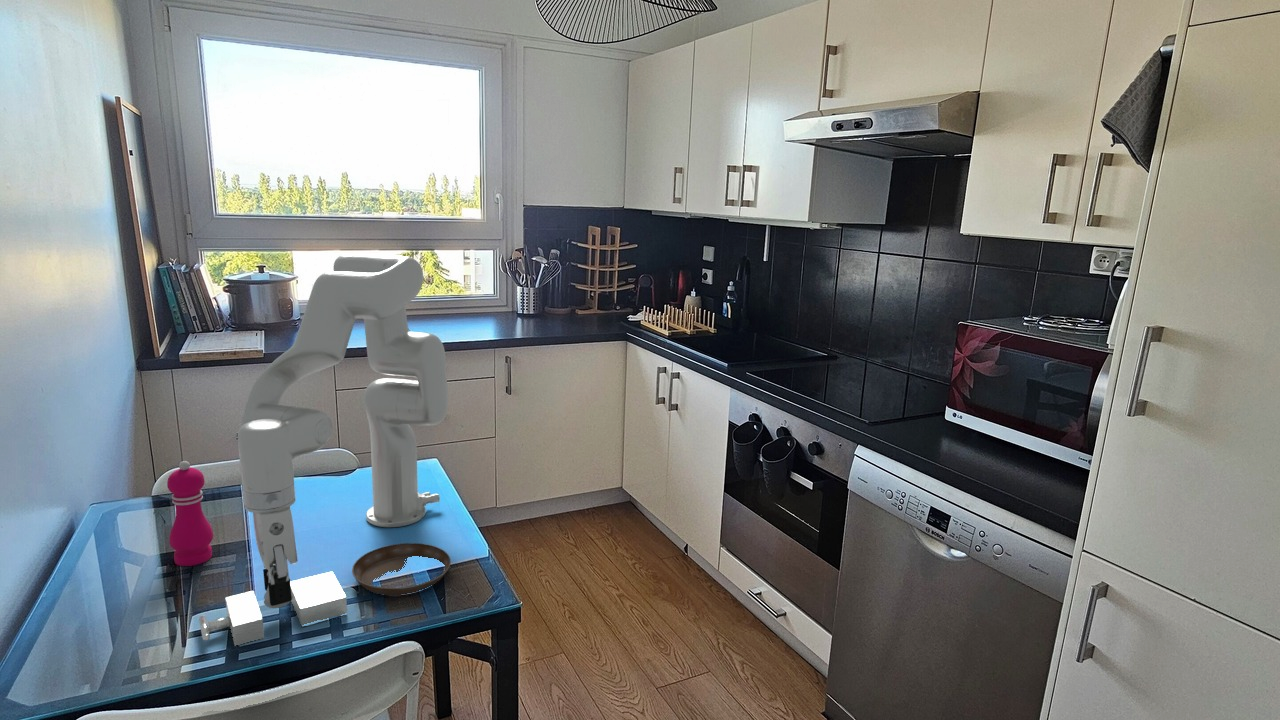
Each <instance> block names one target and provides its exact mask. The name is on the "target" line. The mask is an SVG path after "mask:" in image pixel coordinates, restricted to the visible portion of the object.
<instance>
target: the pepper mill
mask: <svg viewBox="0 0 1280 720" xmlns="http://www.w3.org/2000/svg"><path fill="white" fill-rule="evenodd" d="M190 466H191V464H190V462H189V461H187V460H183V461H181V462H179V463H178V467H179V468H178V469H177V470H174V471H173V472H171V474H170V475H169V476H168V478H167V484H166V485H167V489H168V491H169V492H170V493H172V495H171V499H172V501H171V502H172V504H173V505H174V506H175V519H174V523H173V525H172V527H171V530H170V533H169V546H170V547H171V548H172V549H173V550H174V553H173V559H174V563H175V565H177V566H180V567H191V566H196V565H200V564H203V563H206V562H207V561H209V560H210V559H211V558H212V556H213V550H212V549H213V548H212V546H211V543H212V541H213V540H214V532H213V531H214V530H213V527H212V526H211V524H210V522H209V520H208V519H207V518H206V517H205V514H204V512H203V509H202V500H203V498H204V496H203V494H204V493H203V491H202V488H203V487H204V485H205V476H204V474H203V473H202V471H201V470H200V469H198V468H195V467H190Z"/></svg>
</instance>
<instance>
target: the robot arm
mask: <svg viewBox="0 0 1280 720" xmlns="http://www.w3.org/2000/svg"><path fill="white" fill-rule="evenodd" d="M423 283H424V271H423V267H422V266H421V265H420V263H419V261H417V260H416V259H415V258H413V257H411V256H407V255H406V256H404V255H397V254H395V255H394V254H393V255H392V254H380V253H370V252H369V253H367V252H364V253H363V252H351V253H349V252H348V253H344V254H341V255H339V256H338V257H337V258H336V259H335V261H334V262H333V270H332V271H327V272H324V273H322V274H321V275H319V276H318V277H317V278H316V279H315V282H314V283H313V286H312V289H311V291H310V295H309V298H308V301H307V303H306V306H305V310H304V314H303V316H302V320H301V323H300V325H299V328H298V331H297V334H296V337H295V340H294V343H292V345H291V347H289V349H287V350H286V351H284V352H283V353H282V354H281V355H279V356H278V357H276V358H275V359H274V360H273V362H271V363H270V364H269V365H268V366H267V367H266V368H265V369H264V370H263V371H262V372H261V373H260V374H259V376H258V377H257V378H256V380H255V382H254V383H253V385H252V387H251V390H250V392H249V395H248V398H247V401H246V404H245V407H244V409H243V412H242V417H241V424H240V426H241V427H240V428H238V431H237V445H238V457H239V465H240V467H239V468H240V477H241V485H242V487H241V488H242V497H243V508H244V510H246V511H247V512H249V513H252V517H253V528H254V536H255V541H256V542H255V543H256V546H257V549H258V554H259V556H260V559H261V561H262V564H263V567H264V568H263V569H262V572H263V573H262V574H263V582H264V591H266V590H267V588H268V587H269V598H270V605H271V606H274V605H278V604H282V603H286V602H289V601H291V600H292V597H291V584H290V582H291V579H290V574H289V566H288V565H289V564H290V565H292V564H293V565H295V564H297V562H298V552H297V545H296V537H295V536H296V534H295V527H294V521H293V516H292V509H291V506H293V505H294V504H295V502H296V487H295V474H294V463H293V461H294V459H295V458H298V457H301V456H304V455H309V454H313V453H314V452H317V451H319V450H320V449H321V448H323V447H324V446H325V445H327V443H328V442H329V440H330V439H331V438H332V434H333V429H334V427H333V421H332V419H331V417H330V416H329V415H328V414H327V413H326V412H324V411H323V410H320V409H317V408H311V407H300V406H293V405H284V404H283V405H282V404H280V402H281V401H282V398H283V397H284V395H285V394H286V392H287V391H288V390H289V389H290V387H292V385H294V384H296V382H298V381H300V380H302V379H303V378H306V377H308V376H310V375H312V374H315V373H317V372H320V371H322V370H326V369H328V368H330V367H333V366H336V365H338V364H339V363H341V362H342V361H343V359H344V358H345V355H346V352H347V348H348V346H349V341H350V338H351V335H352V332H353V330H354V329H353V328H354V325H355V322H356V320H357V319H359V320H360V319H363V322H364V323H363V324H364V332H365V333H364V334H365V342H366V343H365V344H366V354H367V360H368V361H367V362H368V365H369V366H370V369H371V370H372V371H374V372H375V373H377V374H382V375H387V376H397V377H398V376H399V377H411V378H416V380H415V379H406V378H395V377H394V378H393V377H383V378H382V377H381V378H379V379H378V378H377V379H375V380H374V381H372V382H370V383H369V385H368V386H367V387H366V389H365V390H364V394H363V405H364V410H365V414H366V417H367V422H368V427H369V434H370V438H369V439H370V454H371V455H370V456H371V458H370V459H371V460H370V461H371V480H372V481H371V483H372V504H373V505H372V506H371V507H370V508H369V509H368V510H366V513H365V516H366V520H367V522H368V523H369V524H370V525H373V526H376V527H382V528H399V527H404V526H405V527H406V526H409V525H413V524H414V523H417V522H419V521H420V520H422V519H423V518H424V517H425V515H426V506H427V505H428V504H435V503H438V502H441V501H440V500H441V499H440V498H441V497H440V494H439V493H433V494H431V493H430V491H428V492H422V493H419V489H418V488H419V487H418V486H419V485H418V455H417V454H418V445H417V437H416V433H415V432H414V430H413V428H412V427H411V425H413V426H414V425H416V426H426V427H427V426H431V427H432V426H436V425H440V424H441V423H442V422H443V421H444V420H445V418H446V416H447V414H448V408H449V407H448V406H449V394H448V377H447V360H446V359H447V358H446V350H445V347H444V344H443V342H442V340H441V338H439V337H438V336H437V335H435V334H433V333H429V332H422V331H421V332H420V331H411V330H410V329H409V326H408V319H407V318H408V316H407V309H406V305H408V304H409V303H410V302H411V301H413V300H414V299H415V298H416V297H417V296H418V295H419V294H420V291H421V289H422V287H423ZM272 562H275V563H276V564H273V565H271V563H272ZM288 563H289V564H288ZM267 569H268V570H269V577H270V583H268V582H269V577H268V575H267V572H268V570H267ZM274 569H277V572H276V573H274V574H273V570H274Z"/></svg>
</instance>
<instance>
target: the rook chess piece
mask: <svg viewBox="0 0 1280 720" xmlns="http://www.w3.org/2000/svg"><path fill="white" fill-rule="evenodd" d="M273 564H276V563H275V562H272V563H271V565H273ZM267 570H268V569H267ZM276 572H277V569H274V570H273V574H274V573H276ZM267 575H268V577H269V570H268V572H267ZM268 583H270V577H269V582H268ZM263 595H264V596H263V598H264V601H263V604H264V605H265V606H266V607H267V608H269V609H280V608H283V607H286V606H287V605H289V604H290V603H291V601H289V602H286V603H282V604H278V605H274V606H271V605H270V598H269V587H268V588H267V590H265V592H264V594H263ZM291 597H292V599H293V595H292V590H291Z"/></svg>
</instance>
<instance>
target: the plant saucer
mask: <svg viewBox="0 0 1280 720" xmlns="http://www.w3.org/2000/svg"><path fill="white" fill-rule="evenodd" d="M412 556H419V557H420V556H422V557H428V558H434V559H437V560H439V561H440V562H442V563H443V564H444V565H445V571H444V572H443V573H442V574H441V575H440V576H438V577H436V578H435V579H433V580H430V581H428V582H425V583H422V584H419V585H414V586H409V587H401V588H385V587H377V586H372V585H373V584H372V583H373V580H374V579H375V578H376V579H377V578H378V577H379V578H380V577H381V576H383V575H384V574H385V573H387V572H388V571H389V572H391V571H392V572H393V571H394V570H396V572H398V571H400V570H401V569H402V567H403V566H404V564H405V562H406V561H407V558H408V557H412ZM405 559H406V560H405ZM404 561H405V562H404ZM406 563H407V562H406ZM451 563H452V561H451V556H450V555H449V553H447V552H446V551H445V550H444V549H443V548H441V547H438V546H435V545H432V544H428V543H421V542H420V543H419V542H404V543H395V544H388V545H385V546H381V547H378V548H374V549H373V550H370V551H367V552H366V553H364V554H363V555H361V556H360V557H359V558H358V559H356V561H355V562H354V563H353V565H352V569H351V574H352V577H354V579H355V580H356V582H358V583H359V584H360V586H362V588H364V589H366V590H367V591H368V590H369V591H368V592H370V591H371V593H372V592H373V594H375V593H378V594H384V595H401V594H407V593H412V592H416V591H419V590H422V589H425V588H427V587H429V586H431V585H433V584H434V583H436V582H437V581H438V582H439V581H440V580H441V579H442V578H443V577H444V576H445V574H446V573H447V572H448V570H449V568H450V566H451ZM405 565H406V564H405ZM404 567H405V566H404ZM404 567H403V568H404ZM399 569H400V570H399ZM392 572H391V573H392ZM394 572H395V571H394ZM382 574H383V575H382ZM385 575H386V574H385ZM379 578H378V579H379ZM376 579H375V580H376ZM438 582H437V583H438ZM370 583H371V584H370ZM437 583H436V584H437ZM369 584H370V585H369ZM433 586H434V585H433ZM378 594H377V595H378Z"/></svg>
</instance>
